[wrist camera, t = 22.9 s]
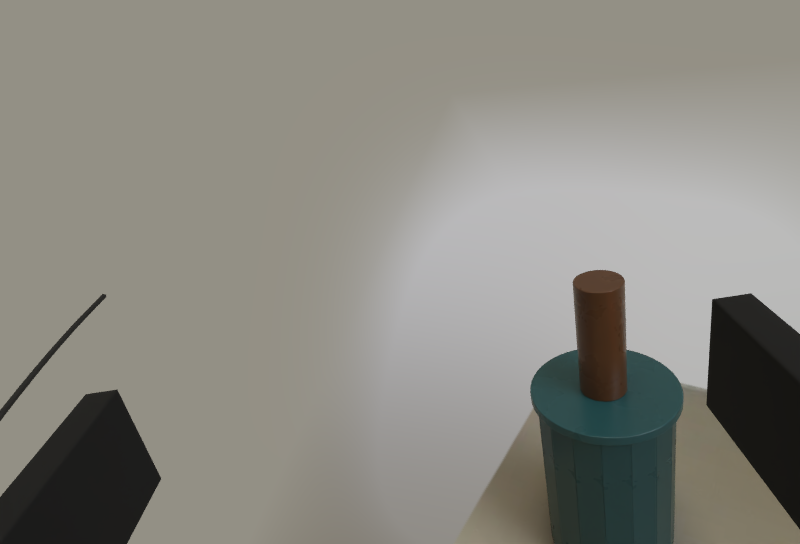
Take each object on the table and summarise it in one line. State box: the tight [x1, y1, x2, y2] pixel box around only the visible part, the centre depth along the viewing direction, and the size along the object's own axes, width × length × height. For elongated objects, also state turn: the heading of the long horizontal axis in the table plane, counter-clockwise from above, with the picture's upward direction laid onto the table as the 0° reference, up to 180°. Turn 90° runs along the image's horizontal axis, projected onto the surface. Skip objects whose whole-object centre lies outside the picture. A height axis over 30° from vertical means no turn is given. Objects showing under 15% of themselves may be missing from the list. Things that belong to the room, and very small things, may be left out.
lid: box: [530, 270, 683, 446], centre depth 34 cm, size 9×9×9 cm
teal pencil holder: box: [539, 417, 676, 544], centre depth 38 cm, size 8×8×12 cm
